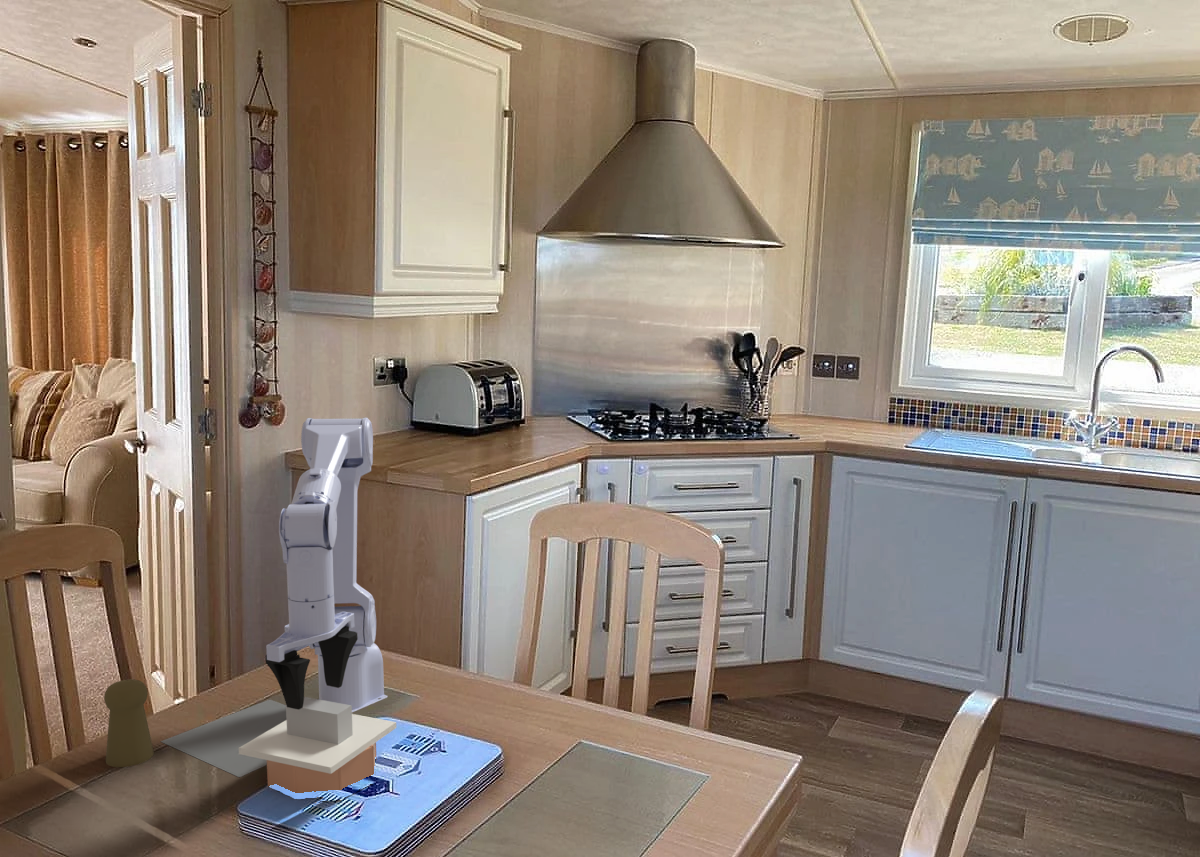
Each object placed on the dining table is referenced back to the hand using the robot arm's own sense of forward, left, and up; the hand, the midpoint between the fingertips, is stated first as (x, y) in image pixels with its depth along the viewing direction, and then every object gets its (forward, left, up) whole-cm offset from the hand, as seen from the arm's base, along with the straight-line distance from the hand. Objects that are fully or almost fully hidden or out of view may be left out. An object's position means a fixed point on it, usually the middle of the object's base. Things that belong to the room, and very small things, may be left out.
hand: (314, 696), depth 130 cm
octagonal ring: (+1, +2, -10) cm, 11 cm away
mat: (-1, -15, -10) cm, 18 cm away
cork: (+13, -23, -11) cm, 28 cm away
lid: (+1, +2, -5) cm, 6 cm away
